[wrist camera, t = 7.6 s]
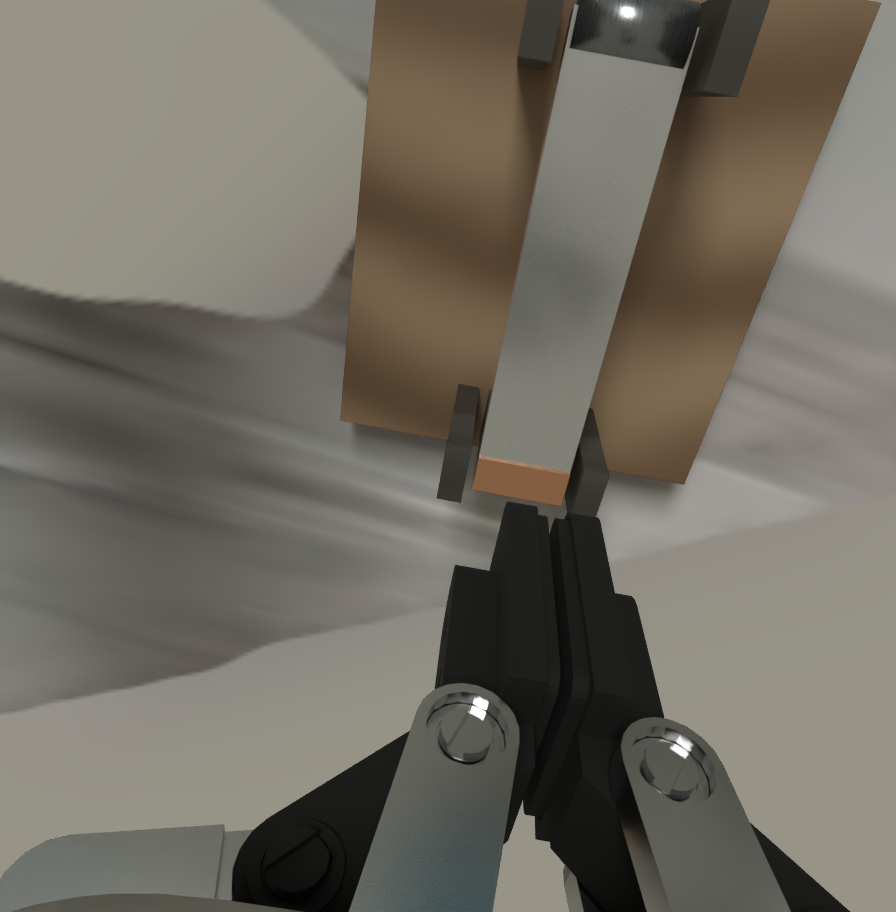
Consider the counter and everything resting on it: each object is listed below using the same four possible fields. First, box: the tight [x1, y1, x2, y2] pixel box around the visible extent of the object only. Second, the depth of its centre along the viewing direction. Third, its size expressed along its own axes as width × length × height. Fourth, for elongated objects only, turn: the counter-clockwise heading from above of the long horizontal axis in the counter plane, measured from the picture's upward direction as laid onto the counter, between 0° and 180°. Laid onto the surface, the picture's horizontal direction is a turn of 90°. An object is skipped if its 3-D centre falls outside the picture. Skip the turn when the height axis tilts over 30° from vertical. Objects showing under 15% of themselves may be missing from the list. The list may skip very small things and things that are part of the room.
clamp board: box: [340, 0, 881, 517], centre depth 20 cm, size 16×14×7 cm
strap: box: [472, 0, 701, 506], centre depth 19 cm, size 14×3×2 cm, turn 171°
